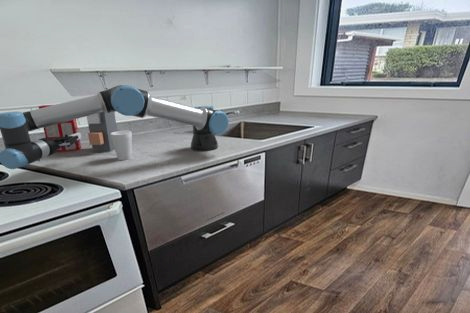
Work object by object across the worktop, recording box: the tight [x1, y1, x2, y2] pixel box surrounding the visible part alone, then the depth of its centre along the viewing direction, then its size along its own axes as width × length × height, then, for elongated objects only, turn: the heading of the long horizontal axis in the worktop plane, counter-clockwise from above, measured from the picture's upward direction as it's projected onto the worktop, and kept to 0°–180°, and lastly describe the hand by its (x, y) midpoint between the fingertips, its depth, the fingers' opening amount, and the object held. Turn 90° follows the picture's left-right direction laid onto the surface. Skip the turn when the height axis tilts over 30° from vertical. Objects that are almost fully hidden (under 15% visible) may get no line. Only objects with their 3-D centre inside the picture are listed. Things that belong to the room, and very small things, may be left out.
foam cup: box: [110, 130, 133, 161], centre depth 131 cm, size 10×9×13 cm
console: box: [87, 112, 118, 153], centre depth 147 cm, size 10×10×24 cm
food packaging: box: [38, 104, 82, 153], centre depth 147 cm, size 15×5×25 cm, turn 106°
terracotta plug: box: [87, 132, 104, 146], centre depth 145 cm, size 13×6×6 cm, turn 175°
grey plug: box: [86, 113, 102, 124], centre depth 144 cm, size 13×6×6 cm, turn 175°
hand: (79, 135), depth 129 cm, fingers closed
